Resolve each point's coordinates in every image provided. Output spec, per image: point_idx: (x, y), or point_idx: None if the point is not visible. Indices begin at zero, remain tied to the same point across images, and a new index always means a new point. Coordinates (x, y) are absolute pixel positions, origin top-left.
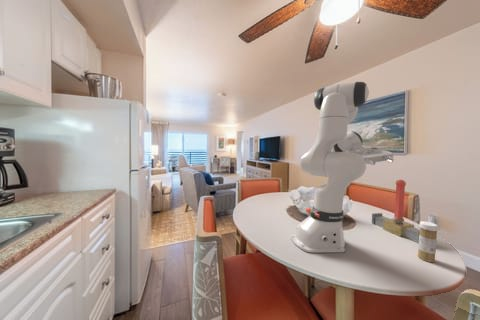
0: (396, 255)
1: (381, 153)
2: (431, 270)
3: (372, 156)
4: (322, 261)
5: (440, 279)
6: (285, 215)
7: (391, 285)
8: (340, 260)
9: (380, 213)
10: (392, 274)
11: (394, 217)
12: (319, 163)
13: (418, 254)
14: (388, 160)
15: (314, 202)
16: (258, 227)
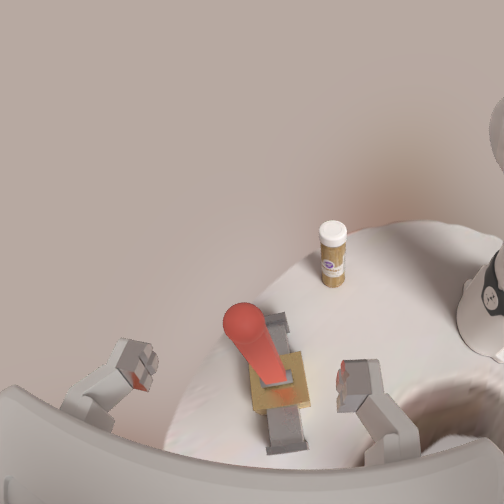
0: (380, 284)
1: (47, 478)
2: (353, 253)
3: (271, 484)
4: None
5: (359, 238)
6: None
7: (427, 225)
8: (472, 262)
9: (271, 449)
10: (416, 241)
11: (286, 380)
12: None
13: (342, 279)
14: (145, 378)
15: None
16: None
